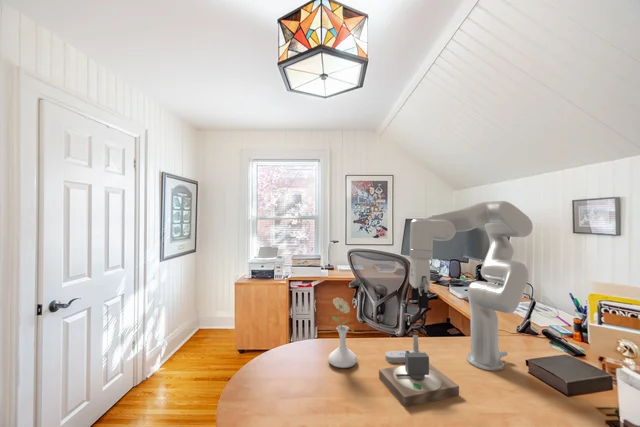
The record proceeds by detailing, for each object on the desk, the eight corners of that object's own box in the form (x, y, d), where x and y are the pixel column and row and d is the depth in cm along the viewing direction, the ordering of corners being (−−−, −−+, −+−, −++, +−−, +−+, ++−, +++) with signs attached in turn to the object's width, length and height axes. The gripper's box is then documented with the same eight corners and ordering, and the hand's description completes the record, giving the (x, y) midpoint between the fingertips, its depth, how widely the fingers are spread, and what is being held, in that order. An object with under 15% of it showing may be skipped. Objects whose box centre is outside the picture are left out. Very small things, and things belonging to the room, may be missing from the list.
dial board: (427, 369, 106) (427, 360, 106) (459, 395, 90) (459, 385, 90) (379, 377, 100) (379, 368, 100) (404, 407, 85) (404, 396, 85)
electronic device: (383, 333, 116) (419, 332, 116) (384, 357, 116) (420, 356, 116) (386, 339, 111) (424, 338, 111) (387, 364, 111) (425, 363, 111)
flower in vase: (363, 366, 108) (362, 301, 108) (337, 374, 103) (337, 305, 103) (345, 352, 119) (345, 293, 120) (321, 357, 114) (321, 296, 115)
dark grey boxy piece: (424, 371, 98) (424, 351, 98) (430, 380, 93) (430, 358, 93) (394, 372, 98) (394, 351, 98) (398, 380, 93) (398, 358, 93)
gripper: (404, 251, 107) (403, 296, 107) (415, 256, 90) (414, 310, 90) (424, 252, 107) (423, 298, 106) (440, 258, 89) (438, 312, 89)
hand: (419, 303), depth 98 cm, fingers open, 9 cm apart
